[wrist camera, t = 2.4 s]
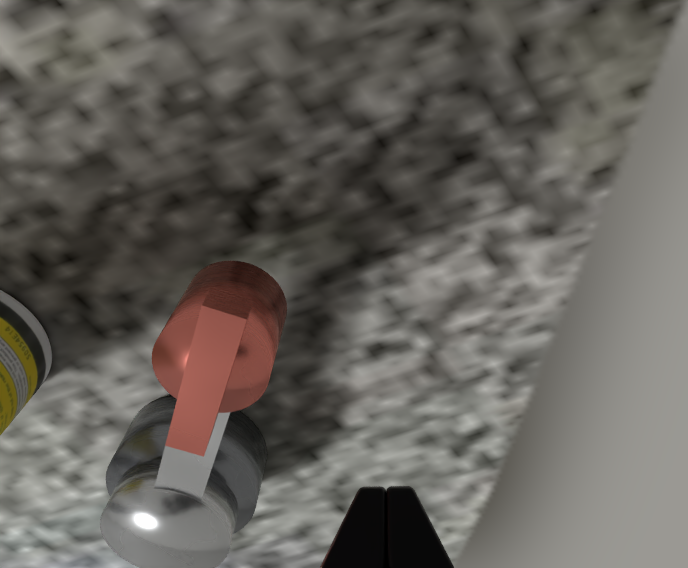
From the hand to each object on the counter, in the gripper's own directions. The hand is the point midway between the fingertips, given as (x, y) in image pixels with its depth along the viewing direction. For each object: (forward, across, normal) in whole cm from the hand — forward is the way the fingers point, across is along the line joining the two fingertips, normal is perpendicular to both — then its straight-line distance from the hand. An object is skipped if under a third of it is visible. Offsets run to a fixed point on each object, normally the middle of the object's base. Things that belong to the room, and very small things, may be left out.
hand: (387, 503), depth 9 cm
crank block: (+8, +7, +7) cm, 13 cm away
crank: (+6, +5, +4) cm, 9 cm away
